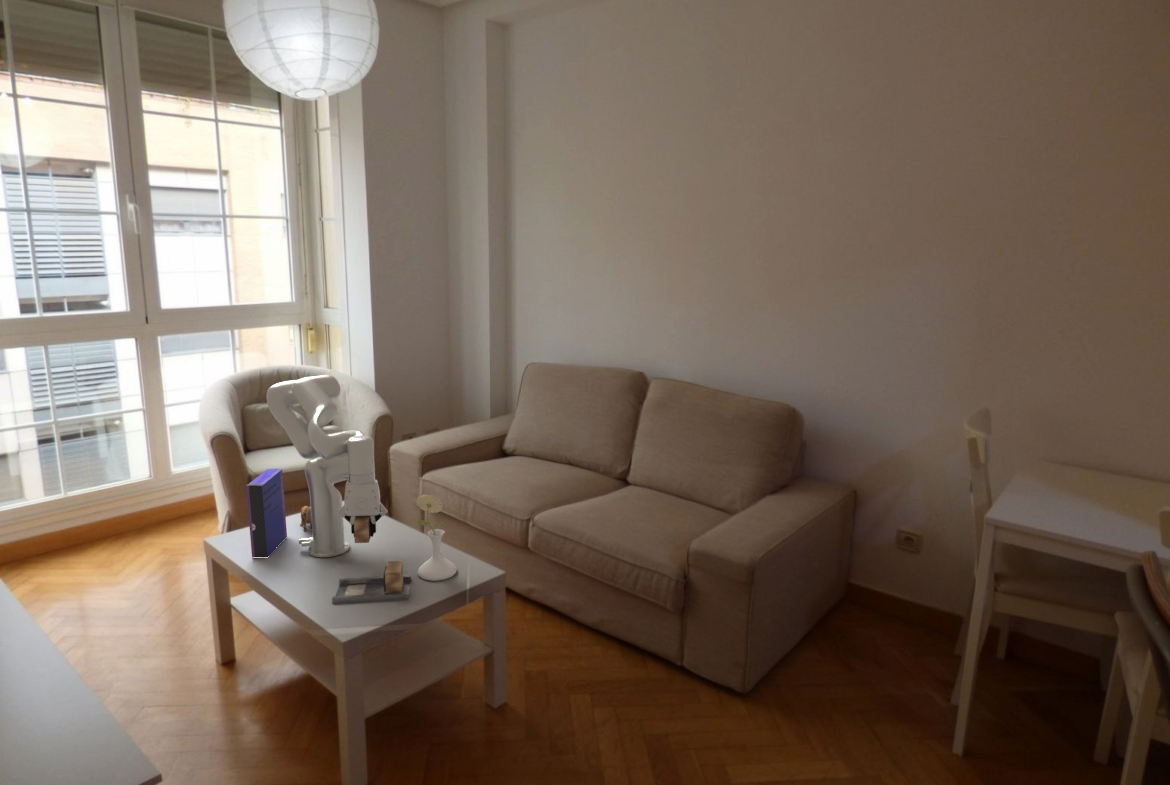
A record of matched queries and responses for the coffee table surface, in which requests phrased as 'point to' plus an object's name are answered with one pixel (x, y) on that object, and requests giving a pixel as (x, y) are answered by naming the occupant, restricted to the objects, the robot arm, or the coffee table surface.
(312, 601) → the coffee table surface
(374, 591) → the gray tray
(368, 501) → the robot arm
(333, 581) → the coffee table surface
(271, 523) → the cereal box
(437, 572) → the flower in vase
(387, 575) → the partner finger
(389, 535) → the coffee table surface
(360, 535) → the block
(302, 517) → the lion figurine
